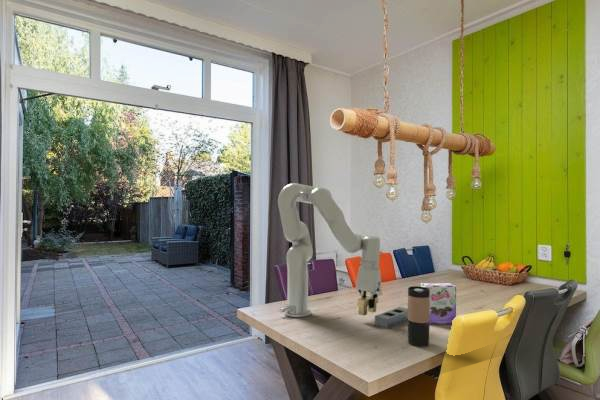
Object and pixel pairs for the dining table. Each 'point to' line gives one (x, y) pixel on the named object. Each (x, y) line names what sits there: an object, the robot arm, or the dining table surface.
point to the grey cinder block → (391, 318)
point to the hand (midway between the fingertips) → (367, 306)
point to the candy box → (441, 302)
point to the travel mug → (418, 316)
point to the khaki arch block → (364, 303)
